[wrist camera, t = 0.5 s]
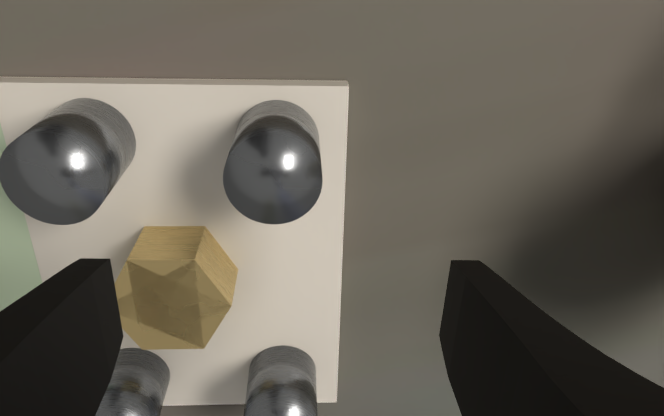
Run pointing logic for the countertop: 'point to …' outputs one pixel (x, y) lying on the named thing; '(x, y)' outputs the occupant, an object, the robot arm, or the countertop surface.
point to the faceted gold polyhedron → (175, 288)
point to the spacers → (241, 189)
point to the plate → (197, 218)
